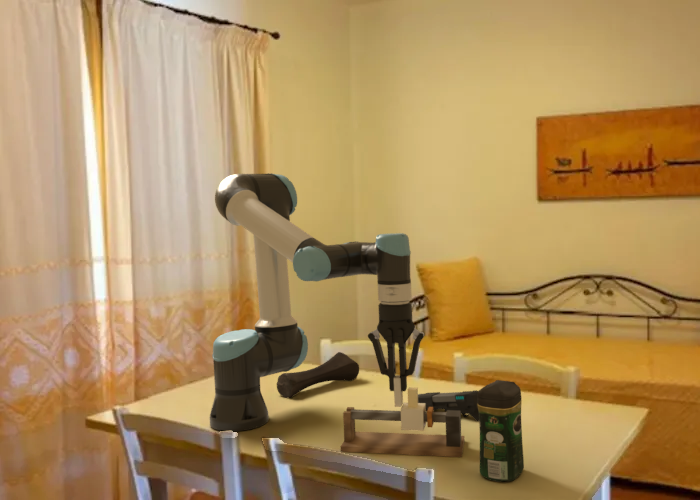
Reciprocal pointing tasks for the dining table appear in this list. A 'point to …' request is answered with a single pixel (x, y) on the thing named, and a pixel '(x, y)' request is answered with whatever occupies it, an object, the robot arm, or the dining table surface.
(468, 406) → the gun
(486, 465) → the coffee jar
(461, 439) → the slider rail stand
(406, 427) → the sleeve
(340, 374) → the dark brown bone
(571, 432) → the dining table surface
